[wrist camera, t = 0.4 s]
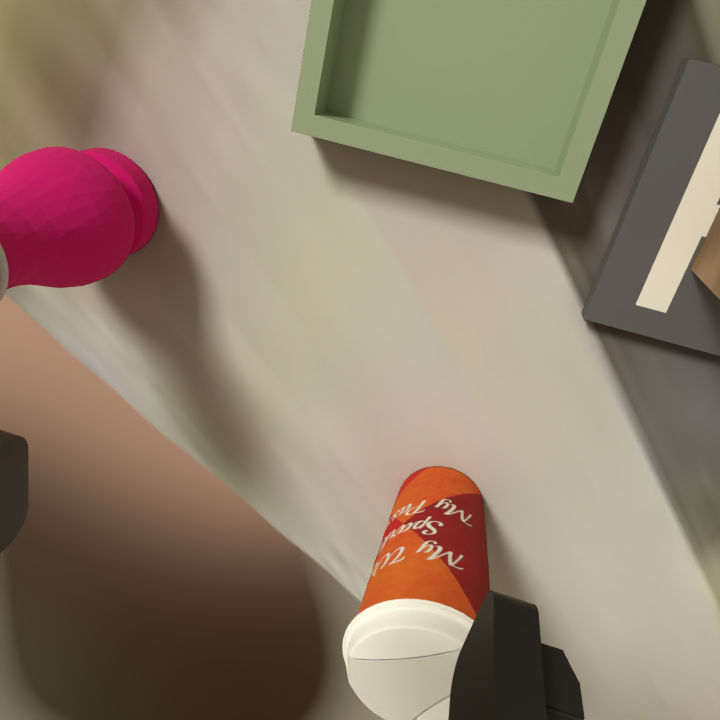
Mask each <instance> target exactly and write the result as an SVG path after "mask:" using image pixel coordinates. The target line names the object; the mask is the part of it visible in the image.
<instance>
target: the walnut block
mask: <svg viewBox="0 0 720 720" xmlns="http://www.w3.org/2000/svg"><path fill="white" fill-rule="evenodd" d="M691 270H692V271H693V272H694V273H695V274H696V275H697V276H698V277H699V278H700V280H701V281H702V282H703V283H704V284H705V285H706V286H707V287H708V288H709V289H710V290H711V291H712V292H713V293H714V294H715V295H716V296H717V297H718V298H719V299H720V208H719V210H718V212H717V214H716V216H715V219H714V221H713V223H712V225H711V227H710V229H709V231H708V234H707V236H706V238H705V240H704V242H703V244H702V246H701V248H700V251H699V253H698V255H697V257H696V259H695V261H694V263H693V265H692V268H691Z"/></svg>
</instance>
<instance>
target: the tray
mask: <svg viewBox="0 0 720 720" xmlns="http://www.w3.org/2000/svg"><path fill="white" fill-rule="evenodd" d="M645 3H646V0H312V2H311V9H310V15H309V21H308V28H307V34H306V40H305V47H304V53H303V59H302V66H301V72H300V78H299V85H298V91H297V97H296V104H295V110H294V116H293V123H292V129H291V131H293V132H297V133H301V134H305V135H309V136H313V137H316V138H320V139H324V140H328V141H332V142H336V143H340V144H344V145H348V146H352V147H355V148H359V149H363V150H367V151H371V152H375V153H379V154H383V155H387V156H391V157H395V158H398V159H402V160H406V161H410V162H414V163H418V164H422V165H426V166H430V167H434V168H438V169H441V170H445V171H449V172H453V173H457V174H461V175H465V176H469V177H473V178H477V179H480V180H484V181H488V182H492V183H496V184H500V185H504V186H508V187H512V188H516V189H520V190H523V191H527V192H531V193H535V194H539V195H543V196H547V197H551V198H555V199H559V200H563V201H566V202H570V203H573V200H574V198H575V195H576V192H577V190H578V187H579V184H580V181H581V179H582V176H583V173H584V170H585V168H586V165H587V162H588V159H589V157H590V154H591V151H592V148H593V146H594V143H595V140H596V137H597V135H598V132H599V129H600V126H601V124H602V121H603V118H604V115H605V113H606V110H607V107H608V104H609V102H610V99H611V96H612V93H613V91H614V88H615V85H616V82H617V80H618V77H619V74H620V71H621V69H622V66H623V63H624V60H625V58H626V55H627V52H628V50H629V47H630V44H631V41H632V39H633V36H634V33H635V30H636V28H637V25H638V22H639V19H640V17H641V14H642V11H643V8H644V6H645Z"/></svg>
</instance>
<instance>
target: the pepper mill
mask: <svg viewBox="0 0 720 720" xmlns="http://www.w3.org/2000/svg"><path fill="white" fill-rule="evenodd" d="M157 221H158V203H157V199H156V195H155V192H154V189H153V187H152V185H151V183H150V181H149V179H148V178H147V176H146V175H145V174H144V172H143V171H142V170H141V168H140V167H139V166H138V165H137V164H135V163H134V162H133V161H132V160H131V159H129V158H128V157H126V156H125V155H123V154H121V153H119V152H116V151H114V150H110V149H105V148H92V149H88V150H83V151H78V150H75V149H70V148H65V147H46V148H42V149H38V150H35V151H32V152H29V153H26V154H24V155H22V156H20V157H18V158H16V159H14V160H13V161H12V162H10V163H9V164H8V165H7V166H5V167H4V168H3V169H2V170H1V171H0V301H1V299H2V298H3V296H4V294H5V292H6V289H9V288H12V287H14V286H19V285H39V286H47V287H55V288H65V287H76V286H83V285H87V284H90V283H93V282H95V281H98V280H101V279H103V278H106V277H107V276H109V275H111V274H112V273H113V272H115V271H116V270H117V269H118V268H119V267H120V266H121V265H122V264H123V263H124V261H125V259H126V258H127V256H128V255H130V254H132V253H134V252H136V251H138V250H140V249H141V248H142V247H144V246H145V245H146V244H147V243H148V242H149V240H150V239H151V238H152V236H153V234H154V231H155V229H156V226H157Z"/></svg>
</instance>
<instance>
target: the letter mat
mask: <svg viewBox="0 0 720 720" xmlns="http://www.w3.org/2000/svg"><path fill="white" fill-rule="evenodd" d="M719 208H720V66H719V65H715V64H710V63H706V62H702V61H697V60H693V59H683V62H682V64H681V67H680V69H679V72H678V74H677V77H676V79H675V81H674V84H673V86H672V89H671V91H670V94H669V96H668V99H667V101H666V104H665V106H664V109H663V111H662V114H661V116H660V119H659V121H658V124H657V126H656V129H655V131H654V134H653V136H652V139H651V141H650V144H649V146H648V149H647V151H646V154H645V156H644V159H643V161H642V164H641V166H640V169H639V171H638V174H637V176H636V179H635V181H634V184H633V186H632V189H631V191H630V193H629V196H628V198H627V201H626V203H625V206H624V208H623V211H622V213H621V216H620V218H619V221H618V223H617V226H616V228H615V231H614V233H613V236H612V238H611V241H610V243H609V246H608V248H607V251H606V253H605V256H604V258H603V261H602V263H601V266H600V268H599V271H598V273H597V276H596V278H595V281H594V283H593V286H592V288H591V291H590V293H589V296H588V298H587V301H586V303H585V306H584V308H583V310H582V316H583V318H584V319H585V320H589V321H592V322H596V323H600V324H603V325H607V326H611V327H614V328H618V329H622V330H626V331H629V332H633V333H637V334H640V335H644V336H648V337H651V338H655V339H659V340H663V341H666V342H670V343H674V344H677V345H681V346H685V347H688V348H692V349H696V350H700V351H703V352H707V353H711V354H714V355H718V356H720V299H719V298H718V297H717V296H716V295H715V294H714V293H713V292H712V291H711V290H710V289H709V288H708V287H707V286H706V285H705V284H704V283H703V282H702V281H701V280H700V278H699V277H698V276H697V275H696V274H695V273H694V272H693V271H692V270H691V268H692V265H693V263H694V261H695V259H696V257H697V255H698V253H699V251H700V248H701V246H702V244H703V242H704V240H705V238H706V236H707V234H708V231H709V229H710V227H711V225H712V223H713V221H714V219H715V216H716V214H717V212H718V210H719Z"/></svg>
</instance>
